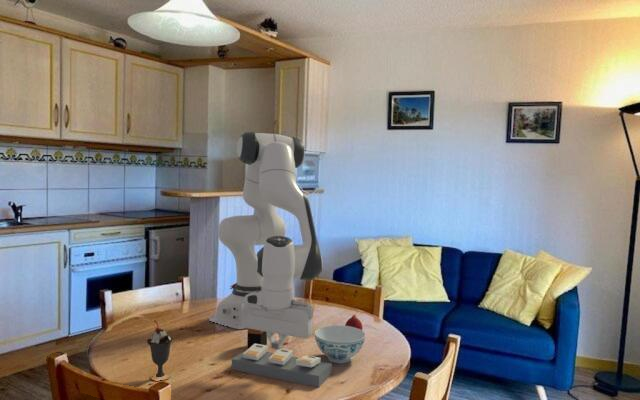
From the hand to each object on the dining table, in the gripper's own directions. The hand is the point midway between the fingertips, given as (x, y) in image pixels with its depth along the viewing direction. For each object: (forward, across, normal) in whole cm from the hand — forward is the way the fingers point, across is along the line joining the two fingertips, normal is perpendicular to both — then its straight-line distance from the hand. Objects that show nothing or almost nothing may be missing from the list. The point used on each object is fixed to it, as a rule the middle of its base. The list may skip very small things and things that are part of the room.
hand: (276, 348), depth 132 cm
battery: (+8, +14, -15) cm, 22 cm away
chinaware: (+8, -12, -18) cm, 23 cm away
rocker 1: (+3, +7, -2) cm, 8 cm away
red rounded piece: (+8, -9, -37) cm, 39 cm away
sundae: (+8, +26, +15) cm, 31 cm away
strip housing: (+7, -1, -2) cm, 8 cm away
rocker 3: (+3, -8, -2) cm, 9 cm away
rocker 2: (+3, -1, -2) cm, 4 cm away
